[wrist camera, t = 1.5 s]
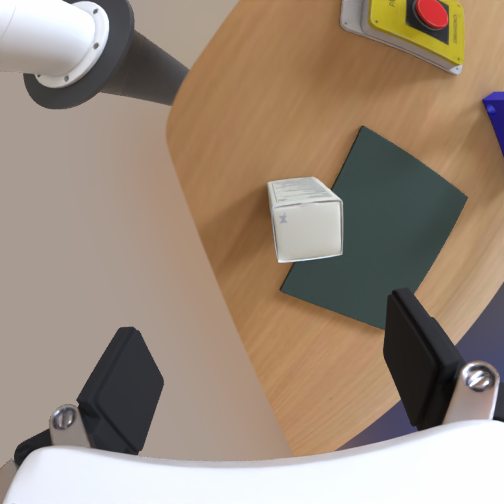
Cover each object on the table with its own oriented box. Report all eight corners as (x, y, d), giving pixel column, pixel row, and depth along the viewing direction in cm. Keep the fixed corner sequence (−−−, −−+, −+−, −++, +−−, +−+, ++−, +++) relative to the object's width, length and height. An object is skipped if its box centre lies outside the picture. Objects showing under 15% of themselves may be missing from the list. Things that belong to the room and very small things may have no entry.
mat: (279, 289, 34) (279, 291, 33) (361, 125, 26) (363, 125, 26) (387, 329, 36) (387, 331, 35) (466, 196, 28) (468, 197, 28)
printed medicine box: (271, 222, 31) (273, 264, 21) (266, 180, 29) (266, 205, 20) (320, 217, 30) (344, 257, 21) (318, 176, 29) (343, 198, 19)
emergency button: (480, 74, 19) (349, 14, 18) (458, 77, 23) (338, 28, 22) (479, 8, 15) (356, -51, 15) (460, 16, 19) (346, -33, 19)
